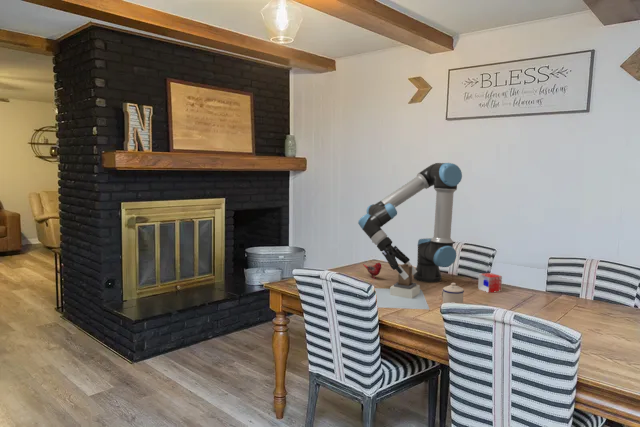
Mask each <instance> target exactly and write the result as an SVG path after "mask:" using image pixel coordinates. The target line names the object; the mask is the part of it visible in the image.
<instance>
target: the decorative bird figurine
mask: <svg viewBox="0 0 640 427" xmlns="http://www.w3.org/2000/svg"><path fill="white" fill-rule="evenodd" d="M362 265H363V266H364V267H365V268H366V269H367V272H368V273H369V274H370V276H371V278H372V279H373V280H374V279H375V280H378V278H377V277H376V276H378V275H379V274H380V272H381V269H382V264H381V262H376V263H375V264H374V265H373V264H372V265H366V264H362Z"/></svg>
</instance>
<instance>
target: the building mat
mask: <svg viewBox="0 0 640 427" xmlns="http://www.w3.org/2000/svg"><path fill="white" fill-rule="evenodd" d="M374 288H375V291H376V295H377V306H378V307H377V308H381V309H383V308H385V309H411V310H412V309H413V310H428V312H430V307H429V304H428V303H427V300H426V297H425V295H424V292H423V289H420V293H419V294H418V295H416V296H415V297H413V298H412V299H411V298H405V297H399V296H393V295H390V288H381V287H380V288H376V287H374Z"/></svg>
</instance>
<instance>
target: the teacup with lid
mask: <svg viewBox="0 0 640 427" xmlns="http://www.w3.org/2000/svg"><path fill="white" fill-rule="evenodd" d="M464 292H465V290H464V288H463V287H461V286H459V285H457V283H455V282H452V283H450V285H446V286H444V287H443V288H442V290H441V297H442V304H443V303H446V302H455V303H463V304H464Z"/></svg>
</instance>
